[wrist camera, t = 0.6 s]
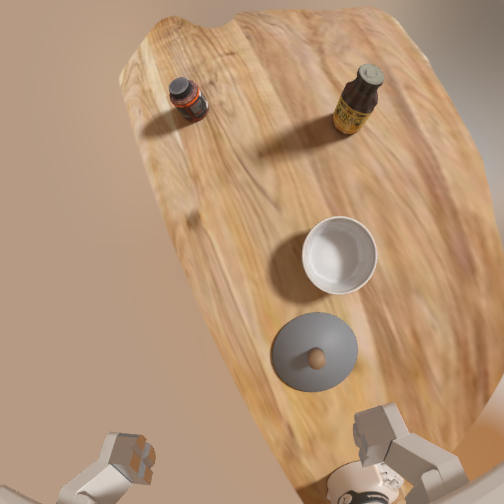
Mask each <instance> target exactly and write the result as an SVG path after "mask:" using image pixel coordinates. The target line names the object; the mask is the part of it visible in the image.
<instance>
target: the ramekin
mask: <svg viewBox="0 0 504 504" xmlns="http://www.w3.org/2000/svg"><path fill="white" fill-rule="evenodd" d="M376 264H377V247H376V243H375V241H374V239H373V236H372V235H371V233H370V232H369V230H368V229H367V228H366V227H365V226H364V225H363V224H361V223H360V222H358V221H357V220H355V219H352V218H349V217H345V216H334V217H330V218H327V219H324V220H322V221H321V222H319V223H318V224H316V225H315V226H314V227H313V228H312V229H311V230H310V232H309V233H308V234H307V236H306V238H305V240H304V243H303V247H302V265H303V268H304V271H305V273H306V275H307V277H308V278H309V280H310V281H311V282H312V283H313V284H314V285H315V286H316V287H317V288H319V289H320V290H322V291H324V292H326V293H329V294H334V295H344V294H349V293H352V292H354V291H356V290H358V289H360V288H361V287H362V286H364V285H365V284H366V283H367V282H368V281H369V279H370V278H371V276H372V275H373V273H374V270H375V267H376Z"/></svg>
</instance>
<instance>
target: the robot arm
mask: <svg viewBox="0 0 504 504" xmlns="http://www.w3.org/2000/svg"><path fill="white" fill-rule="evenodd" d="M354 420H355V423H354V424H353V436H354V441H355V444H356V446H358V447H359V448H360V450H359V457H360V461H357V462H353V463H349V464H347V465H344V466H342V467H341V468H339V469H337V470H336V471H335V472H334V473H333V474H332V475H331V476H330V477H329V479H328V481H327V487H328V493H327V499H328V500H330V501H331V504H391V503H392V502H393V501H395V500H396V498H397V497H398V495H399V490H398V489H399V488H400V487H401V486H402V484H403V483H404V479H406V480H407V481H408V482H410V483H411V484H412V485H414V487H413V488H412V489H411V490H410V492H409V493H408V494H407V496H406V497H405V501H406V504H504V460H503V461H502V462H500V463H499V464H498V465H496V466H495V467H493V468H492V469H490V470H489V471H487V472H485V473H484V474H482V475H481V476H479V477H477V478H476V479H474V480H472V481H471V482H469V480H468V478H467V476H466V473H465V471H464V469H463V467H462V465H461V463H460V461H459V459H458V457H457V456H455V455H453V454H451V453H449V452H447V451H445V450H444V449H442V448H440V447H438V446H436V445H434V444H432V443H430V442H429V441H427V440H425V439H423V438H421V437H420V436H418V435H416V434H414V433H411V434H409V432H408V429H407V427H406V425H405V423H404V421H403V419H402V417H401V415H400V413H399V410H398V408H397V406H396V404H395V403H393V402H391V403H388V404H385V405H382V406H378V407H375V408H371V409H368V410H365V411H361V412H358V413H355V415H354ZM155 459H156V457H155V451H154V448H153V447H152V445H150V444H149V443H147V442H146V438H145V437H144V436H143V435H137V434H124V433H115V432H109V433H108V434H107V436H106V439H105V442H104V444H103V447H102V450H101V453H100V456H99V459H98V461H94V462H93V463H92V464H91V465H89V466H88V467H87V468H86V469H84V470H83V471H82V472H81V473H79V474H78V475H77V476H76V477H74V478H73V479H72V480H71V481H69V482H68V483H67V484H65V485H64V486H63V487H62V489H61V491H60V494H59V497H58V500H57V503H56V504H116V502H117V501H118V500H119V499H120V498H121V497H122V496H123V495H124V494H125V492H126V491H127V490H128V489H129V488H130V487H131V486H132V485H133V484H132V483H134V484H143V485H150V484H151V478H152V474H153V472H152V470H151V469H150V468H151V467H152V466H153V465H154V464H155ZM381 463H382V464H381ZM403 478H404V479H403ZM0 504H41V503H39V502H36V501H34V500H33V499H30V498H29V497H26V496H25V495H23V494H21V493H19V492H17V491H15V490H13V489H11V488H9V487H8V486H5V485H0Z"/></svg>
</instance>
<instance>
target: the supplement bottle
mask: <svg viewBox="0 0 504 504" xmlns="http://www.w3.org/2000/svg"><path fill="white" fill-rule="evenodd" d="M169 91H170V100H171V102H172V103H173V104H174V105H175V107H176V108H177V109H178V110H179V111H180V113H181V114H182V115H183V116H184V117H185V118H186V119H187V120H189V121H198V120H201V119H202V118H204V117H205V116H206V114H207V113H208V110H209V105H208V103H207V101H206V99H205V97H204V96H203V94H202V93H201V91H200V89H199V88H198V86H197V85H196V83H194V82H193V81H190V80H187V79H186V78H183V77H180V78H177V79H175V80H173V81H172V82H171V83H170V85H169Z"/></svg>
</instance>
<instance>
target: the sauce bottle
mask: <svg viewBox="0 0 504 504" xmlns="http://www.w3.org/2000/svg"><path fill="white" fill-rule="evenodd" d="M383 81H384V74H383V72H382V71H381V70H380V69H379V68H378V67H376V66H375V65H372V64H363V65H362V66H361V67H360V68H359V70H358V71H357V78H356V79H355V80H354V81H352V82H348V83H347V84H346V86H345V88H344V90H343V92H342V94H341V96H340V99H339V101H338V104H337V106H336V109H335V112H334V114H333V125H334V127H335V128H336V129H337V131H339V132H340V133H342V134H345V135H353V134H355V133H357V132H358V131H359V130H360V129H361V128H362V126H363V125H364V123H365V122H366V120H367V119H368V117H369V116H370V115H371V113H372V111H373V110H374V107H375V106H376V105H377V102H378V94H377V89H378V88H379V87H380V86H381V85H382V83H383Z"/></svg>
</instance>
